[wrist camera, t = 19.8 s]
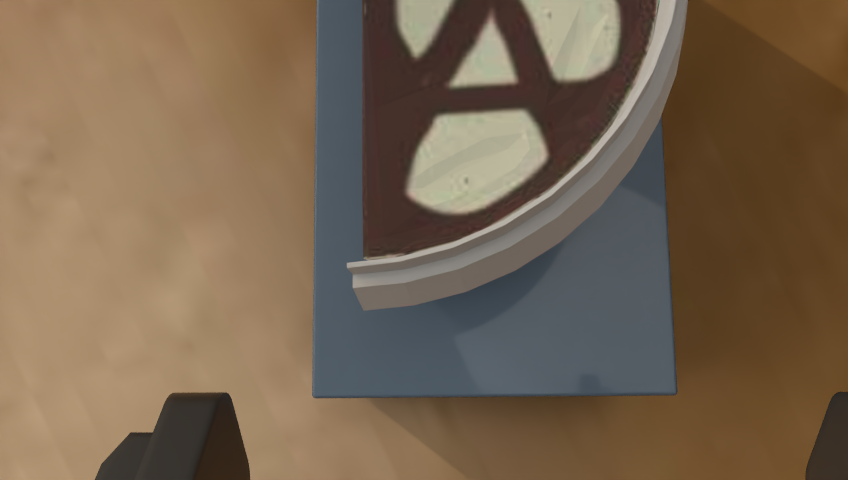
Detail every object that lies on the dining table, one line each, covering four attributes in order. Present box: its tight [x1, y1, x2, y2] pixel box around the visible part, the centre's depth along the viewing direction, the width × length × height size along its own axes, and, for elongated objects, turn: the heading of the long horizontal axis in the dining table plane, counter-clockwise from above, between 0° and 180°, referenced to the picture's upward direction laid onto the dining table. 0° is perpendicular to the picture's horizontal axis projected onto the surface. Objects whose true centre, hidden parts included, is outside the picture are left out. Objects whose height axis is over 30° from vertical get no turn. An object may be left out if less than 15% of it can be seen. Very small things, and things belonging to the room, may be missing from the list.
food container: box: [347, 0, 688, 311], centre depth 18 cm, size 12×6×10 cm, turn 1°
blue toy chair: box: [312, 0, 677, 398], centre depth 24 cm, size 18×10×15 cm, turn 1°
